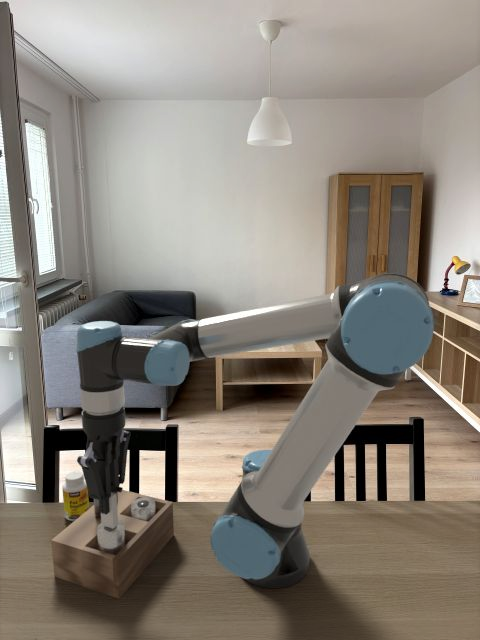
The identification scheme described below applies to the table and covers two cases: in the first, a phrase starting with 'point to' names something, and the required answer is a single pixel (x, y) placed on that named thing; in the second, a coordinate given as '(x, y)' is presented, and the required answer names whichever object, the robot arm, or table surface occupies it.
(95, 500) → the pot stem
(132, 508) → the knob far
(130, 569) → the wooden box
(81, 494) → the supplement bottle
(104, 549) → the knob near
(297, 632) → the table surface
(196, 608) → the table surface
